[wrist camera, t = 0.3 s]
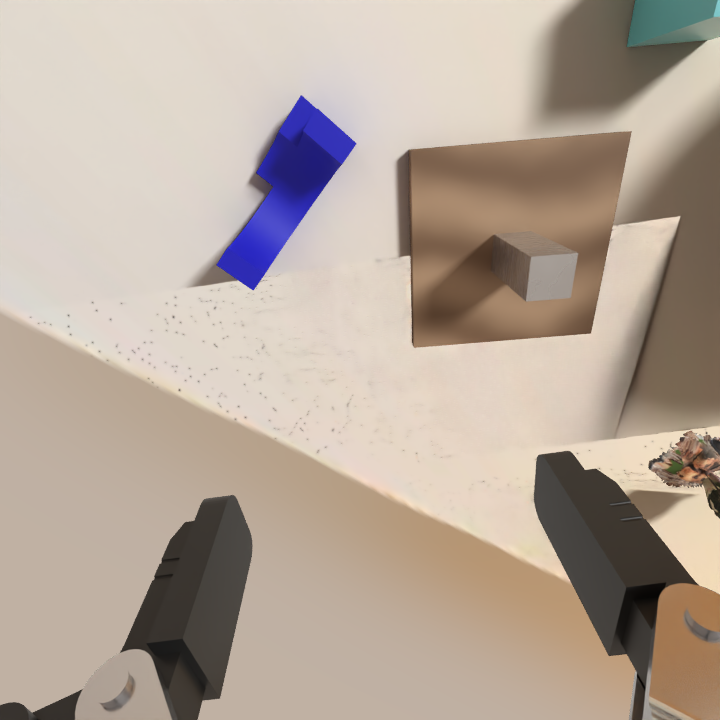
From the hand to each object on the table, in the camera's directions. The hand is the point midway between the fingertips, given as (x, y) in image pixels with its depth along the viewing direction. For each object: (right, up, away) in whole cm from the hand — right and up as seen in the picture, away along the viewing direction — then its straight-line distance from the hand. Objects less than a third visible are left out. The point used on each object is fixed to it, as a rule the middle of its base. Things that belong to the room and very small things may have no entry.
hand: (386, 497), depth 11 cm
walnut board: (+12, +13, +24) cm, 29 cm away
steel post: (+12, +13, +23) cm, 28 cm away
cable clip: (-7, +17, +22) cm, 28 cm away
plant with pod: (+37, -8, +36) cm, 52 cm away
